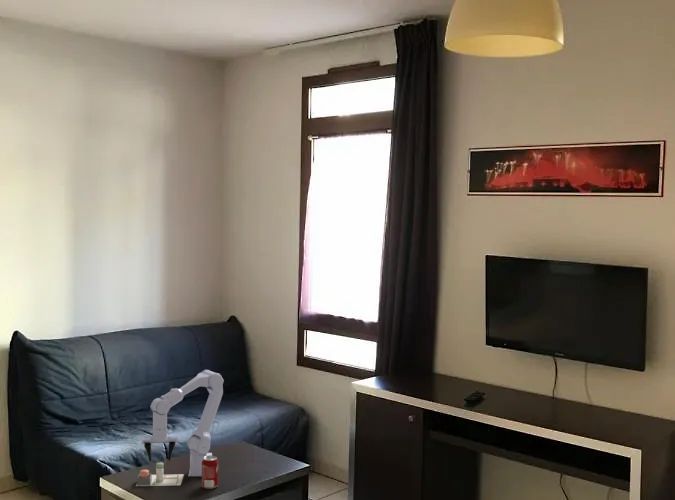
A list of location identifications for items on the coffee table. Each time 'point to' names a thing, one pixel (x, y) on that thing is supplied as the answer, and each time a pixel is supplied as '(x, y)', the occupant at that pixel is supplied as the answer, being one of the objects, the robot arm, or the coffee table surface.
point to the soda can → (210, 472)
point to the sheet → (167, 480)
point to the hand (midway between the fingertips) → (159, 460)
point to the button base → (144, 480)
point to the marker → (159, 472)
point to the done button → (144, 473)
